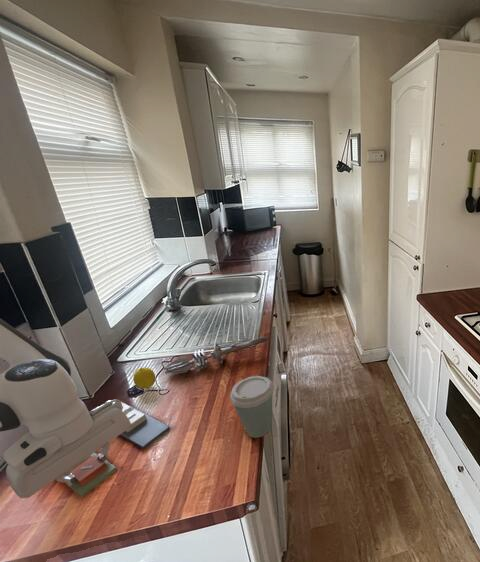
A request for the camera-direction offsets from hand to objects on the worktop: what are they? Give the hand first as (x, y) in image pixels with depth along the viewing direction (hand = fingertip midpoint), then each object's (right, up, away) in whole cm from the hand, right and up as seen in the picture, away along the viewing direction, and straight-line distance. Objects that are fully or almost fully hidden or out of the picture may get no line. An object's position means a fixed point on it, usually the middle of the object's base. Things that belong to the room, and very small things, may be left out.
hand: (88, 470), depth 72 cm
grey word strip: (-1, +4, +14) cm, 15 cm away
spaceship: (+11, +15, +40) cm, 44 cm away
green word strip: (-6, -1, +3) cm, 7 cm away
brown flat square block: (0, -1, 0) cm, 1 cm away
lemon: (-7, +9, +28) cm, 31 cm away
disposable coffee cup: (+36, +4, +12) cm, 38 cm away
